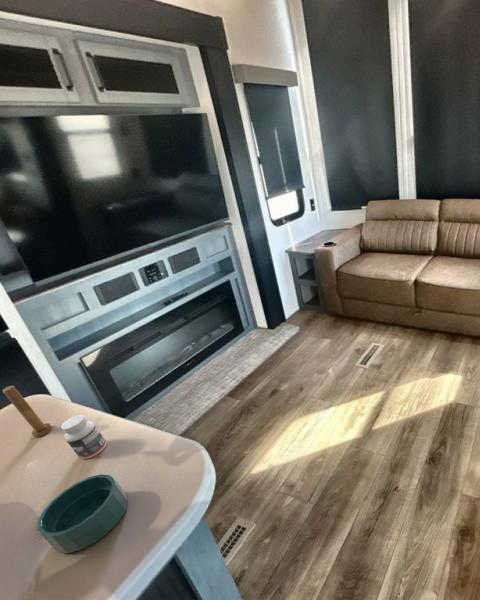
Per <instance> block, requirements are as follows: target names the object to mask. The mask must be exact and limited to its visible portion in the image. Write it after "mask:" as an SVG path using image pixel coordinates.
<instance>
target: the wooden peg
mask: <svg viewBox="0 0 480 600" xmlns="http://www.w3.org/2000/svg"><path fill="white" fill-rule="evenodd" d="M2 393H3V394H4V395H5V396H6V398H7V399H8V400H9V401H10V403H11V404H12V405H13V406H14V408H15V409H16V410H17V411H18V412H19V414H21V416H22V417H23V418H24V419H25V421H26V422H27V423H28V425H29V426H30V427H31V428H32V429H33V430H32V431H31V436H32V437H34V438H35V439H36V438H40V437H43V436H45V435H47V434H49V432H51V431H52V430H53V426H52V425H51V423H48V422H47V423H44V421H42V419H41V417H39V416H38V414H37V413H36V412H35V410H34V409H33V407H31V406H30V404H29V403H28V401H27V400H26V399H25V398H24V397H23V395H22V394H21V393H20V392H19V390H18V389H17V388H16V387H15V385H9V386H6V387H4V388H3V389H2Z"/></svg>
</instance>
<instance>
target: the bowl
mask: <svg viewBox="0 0 480 600" xmlns="http://www.w3.org/2000/svg"><path fill="white" fill-rule="evenodd" d="M128 504H129V498H128V495H127V494H126V492H125V490H124V489H123V488H122V486H121V485H120V484H119V483H118V481H117V480H116V479H115V478H114V477H113V476H112V475H110V474H102V473H101V474H95V475H91V476H89V477H86V478H84V479H82V480H79V481H77V482H75V483H73V484H72V485H71V486H69V487H67V488H66V489H64V490H62V492H60V493H59V494H58V495H57V496H56V497H55V498H53V499H52V500H51V501H50V503H49V504H48V505H47V506H46V507H44V510H42V512H41V513H40V516H39V518H38V520H37V522H36V531H37V532H38V533H39V534H40V535H41V537H43V539H44V540H46V542H48V543H49V544H50V545H51V547H52V548H54V549H55V550H56V552H57V553H64V554H70V553H74V552H77V551H81V550H83V549H85V548H87V547H88V546H91V545H92V544H95V543H96V542H98V541H99V540H100V539H101V538H103V537H104V536H105V535H107V534H108V533H109V532H110V531H112V529H114V527H115V526H116V525H117V524H118V523H119V522H120V520H121V518H122V517H123V516H124V514H125V513H126V510H127V507H128Z"/></svg>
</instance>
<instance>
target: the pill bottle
mask: <svg viewBox="0 0 480 600" xmlns="http://www.w3.org/2000/svg"><path fill="white" fill-rule="evenodd" d="M61 430H62V431H63V432H64V440H65V441H66V443H67V444H68V445H69V446H70V448H71V449H72V450H73V452H74V453H75V454H76V456H77V457H78V458H79V459H81V460H86V459H87V460H88V459H91V458H93V457H95V456H97V455H99V454H100V453H101V452H102V451H103V450H104V449H105V448H106V446H107V439H105V437H104V435H102V433H101V432H100V430H99V429H98V428H97V425H96V424H95V423H94V422H93V421H91V420H90V421H89V420H88V419H87V418H86V417H85V415H83V414H78V415H74V416H72V417H70V418H69V419H67V420H66V421H64V422H63V423H62V425H61Z"/></svg>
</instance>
